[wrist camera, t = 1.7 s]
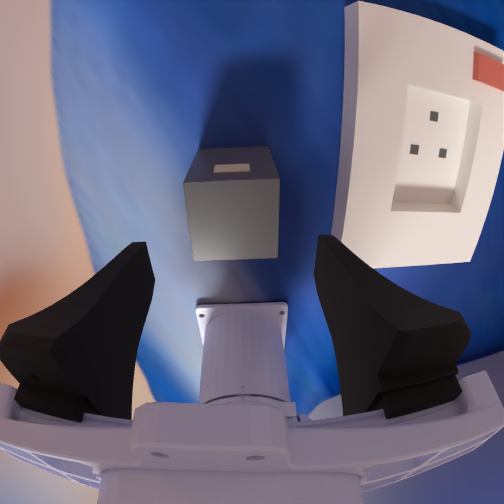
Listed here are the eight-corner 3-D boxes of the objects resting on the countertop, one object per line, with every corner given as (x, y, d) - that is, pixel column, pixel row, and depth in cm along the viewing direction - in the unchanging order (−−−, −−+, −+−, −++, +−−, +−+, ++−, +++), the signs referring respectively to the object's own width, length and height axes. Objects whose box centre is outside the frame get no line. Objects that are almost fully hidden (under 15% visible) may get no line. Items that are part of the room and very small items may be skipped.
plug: (268, 232, 23) (276, 286, 18) (206, 234, 23) (198, 289, 18) (268, 145, 19) (279, 177, 14) (198, 148, 19) (183, 181, 14)
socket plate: (456, 245, 24) (473, 265, 21) (328, 250, 24) (338, 275, 21) (492, 52, 14) (518, 57, 11) (344, 7, 13) (362, -2, 11)
